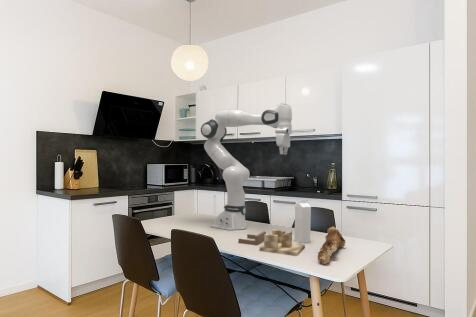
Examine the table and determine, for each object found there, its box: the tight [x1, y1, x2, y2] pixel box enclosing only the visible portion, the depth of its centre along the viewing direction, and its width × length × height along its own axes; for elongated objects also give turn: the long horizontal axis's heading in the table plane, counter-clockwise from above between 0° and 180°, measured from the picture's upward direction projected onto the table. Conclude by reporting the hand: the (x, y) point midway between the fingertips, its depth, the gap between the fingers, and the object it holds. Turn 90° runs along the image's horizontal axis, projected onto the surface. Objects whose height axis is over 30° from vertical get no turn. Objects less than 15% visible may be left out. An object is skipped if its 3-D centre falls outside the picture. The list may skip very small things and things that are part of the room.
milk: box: [294, 199, 312, 244], centre depth 174 cm, size 6×6×22 cm
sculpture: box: [317, 226, 346, 265], centre depth 151 cm, size 9×14×35 cm
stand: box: [259, 228, 306, 257], centre depth 158 cm, size 18×16×8 cm
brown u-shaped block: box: [238, 230, 267, 246], centre depth 172 cm, size 10×13×4 cm
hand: (283, 154), depth 194 cm, fingers open, 8 cm apart
